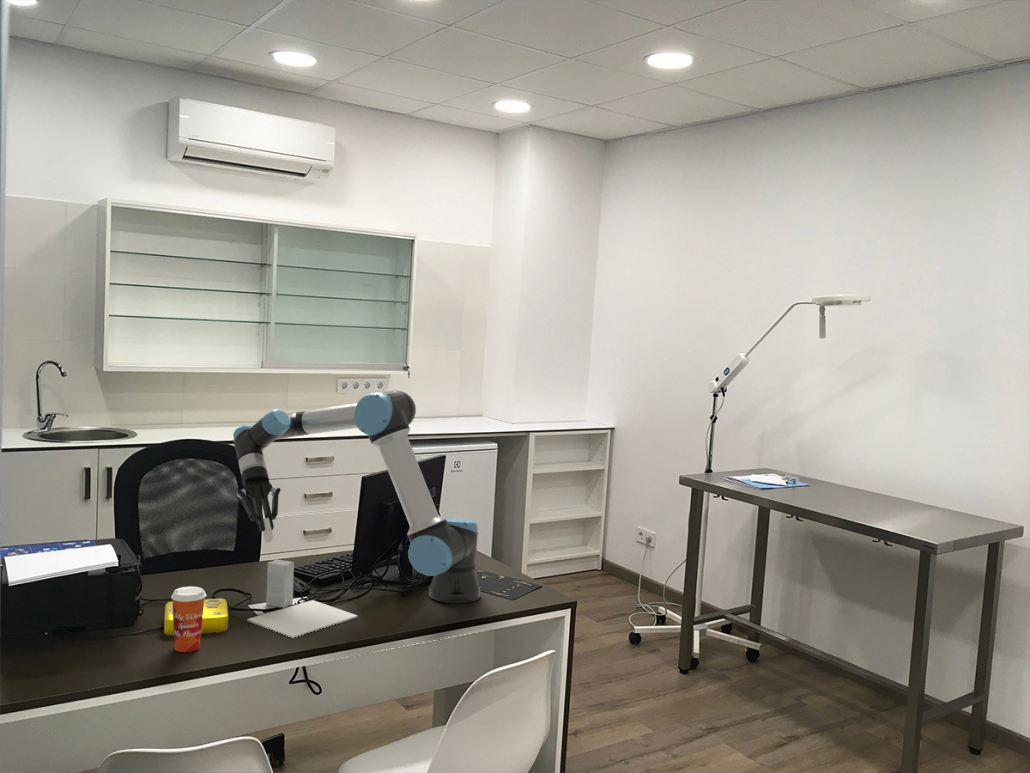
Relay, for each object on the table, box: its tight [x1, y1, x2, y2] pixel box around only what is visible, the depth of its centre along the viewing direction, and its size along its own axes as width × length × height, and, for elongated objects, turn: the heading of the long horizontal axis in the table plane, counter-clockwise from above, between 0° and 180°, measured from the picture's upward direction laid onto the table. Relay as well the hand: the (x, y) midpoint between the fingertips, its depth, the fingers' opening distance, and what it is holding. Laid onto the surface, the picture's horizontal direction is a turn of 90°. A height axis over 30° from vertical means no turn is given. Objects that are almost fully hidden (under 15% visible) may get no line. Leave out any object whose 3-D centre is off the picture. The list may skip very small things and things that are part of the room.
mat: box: [246, 599, 358, 639], centre depth 226 cm, size 18×22×1 cm
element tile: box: [163, 598, 229, 636], centre depth 218 cm, size 15×15×5 cm
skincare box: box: [266, 559, 295, 609], centre depth 235 cm, size 6×4×12 cm
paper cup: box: [170, 586, 207, 653], centre depth 201 cm, size 8×8×14 cm
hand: (269, 539), depth 243 cm, fingers closed
